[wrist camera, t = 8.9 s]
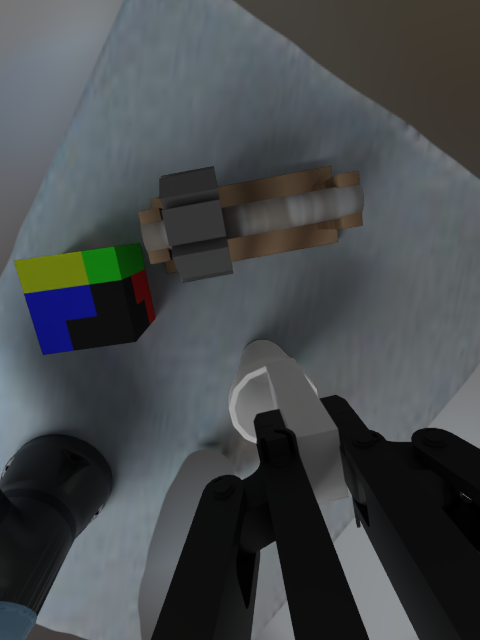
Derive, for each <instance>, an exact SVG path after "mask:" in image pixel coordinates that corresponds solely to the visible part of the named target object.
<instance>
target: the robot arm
mask: <svg viewBox="0 0 480 640" xmlns="http://www.w3.org/2000/svg"><path fill="white" fill-rule="evenodd" d="M265 366H266V371H267V376H268V381H269V385H270V390H271V395H272V400H273V405H274V409H275V410H271V411H267V412H262V413H258V414H256V416H255V419H254V421H253V422H254V428H255V433H256V438H257V442H256V445H257V449H258V453H259V458H260V465H259V467H258V469H257V470H256V471H255V472H254V473H253V474H252V475H250V476H249V477H247V478H245V479H243V480H241V479H240V478H239V477H237V476H235V475H223V476H219V477H217V478H215V479H213V480H212V481H211V482H210V483H208V484H207V485H206V487H205V489H204V490H203V493H202V496H201V499H200V501H199V504H198V507H197V510H196V513H195V516H194V519H193V521H192V524H191V527H190V530H189V533H188V536H187V539H186V541H185V544H184V547H183V550H182V553H181V556H180V558H179V561H178V564H177V567H176V570H175V573H174V575H173V578H172V581H171V584H170V587H169V590H168V593H167V595H166V599H165V601H164V604H163V607H162V610H161V612H160V615H159V618H158V621H157V624H156V627H155V630H154V632H153V635H152V638H151V640H251V632H252V623H253V614H254V606H255V597H256V588H257V580H258V571H259V562H260V550H261V549H262V548H264V547H266V546H267V545H269V544H271V543H272V542H274V541H276V544H277V549H278V554H279V559H280V564H281V570H282V575H283V580H284V585H285V590H286V595H287V600H288V605H289V611H290V615H291V621H292V626H293V631H294V636H295V640H369V637H368V635H367V632H366V629H365V627H364V624H363V622H362V619H361V616H360V614H359V611H358V608H357V606H356V603H355V601H354V598H353V595H352V592H351V590H350V587H349V585H348V582H347V580H346V577H345V574H344V571H343V569H342V566H341V563H340V561H339V558H338V555H337V553H336V550H335V548H334V545H333V542H332V540H331V537H330V534H329V532H328V529H327V526H326V524H325V521H324V518H323V516H322V513H321V511H320V508H319V505H318V504H321V503H325V502H329V501H334V500H338V499H342V498H347V497H348V490H347V486H348V488H349V490H350V492H351V494H352V499H353V506H354V512H355V519H356V524H357V527H360V521H361V523H362V525H363V527H364V529H365V531H366V533H367V535H368V537H369V539H370V541H371V543H372V545H373V547H374V549H375V551H376V553H377V555H378V557H379V559H380V561H381V563H382V565H383V567H384V569H385V571H386V573H387V576H388V577H389V579H390V581H391V583H392V585H393V587H394V590H395V591H396V593H397V596H398V597H399V600H400V602H401V604H402V606H403V607H404V610H405V611H406V614H407V616H408V618H409V620H410V622H411V624H412V626H413V628H414V630H415V631H416V634H417V636H418V638H419V640H480V449H479V448H477V447H475V446H474V445H472V444H470V443H468V442H467V441H465V440H463V439H461V438H460V437H458V436H456V435H454V434H453V433H450V432H448V431H446V430H443V429H437V428H424V429H420V430H417V431H416V432H414V433H413V435H412V437H411V440H412V442H390V441H386V439H385V438H384V437H383V436H382V435H381V434H379V433H378V432H375V431H372V430H369V429H368V428H367V427H366V425H365V424H364V423H363V422H362V420H361V419H360V418H359V416H358V415H357V414H356V413H355V411H354V410H353V409H352V407H350V405H349V404H348V402H347V401H346V400H345V399H343V398H341V397H339V396H337V395H333V396H329V397H324V398H320V399H319V398H318V396H317V395H316V393H315V391H314V390H313V388H312V387H311V385H310V383H309V382H308V380H307V378H306V377H305V375H304V374H303V372H302V370H301V369H300V367H299V366H298V364H297V362H296V361H295V359H294V358H289V359H285V360H280V361H276V362H271V363H267V364H265ZM111 488H112V475H111V471H110V468H109V465H108V463H107V462H106V460H105V459H104V457H103V456H102V455H101V454H100V453H99V452H98V451H97V450H96V449H95V448H94V447H92V446H91V445H89V444H88V443H86V442H84V441H82V440H79V439H77V438H73V437H70V436H64V435H48V436H43V437H39V438H36V439H33V440H31V441H29V442H28V443H26V444H25V445H24V446H22V447H21V448H20V449H19V450H18V451H17V452H16V453H15V454H14V455H13V457H12V458H11V459H10V460H9V461H8V463H7V464H6V466H5V468H4V470H3V473H2V475H1V480H0V640H25V639H26V637H27V635H28V633H29V632H30V630H31V629H32V628H33V627H34V625H35V623H36V619H37V616H38V614H39V612H40V610H41V608H42V606H43V604H44V601H45V599H46V597H47V595H48V593H49V591H50V589H51V587H52V585H53V583H54V581H55V579H56V577H57V574H58V572H59V570H60V568H61V566H62V564H63V562H64V560H65V558H66V556H67V554H68V552H69V550H70V548H71V546H72V544H73V542H74V540H75V538H76V537H77V536H78V535H79V534H80V533H81V532H82V531H83V530H84V529H85V528H86V527H87V525H88V524H89V523H90V522H92V521H93V520H94V519H95V518H96V517H97V516H98V515H99V513H100V512H101V511H102V509H103V507H104V506H105V503H106V501H107V499H108V497H109V495H110V492H111ZM463 494H464V495H463ZM465 495H466V496H467V497H469V498H470V499H469V498H467V497H466V496H465Z"/></svg>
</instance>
